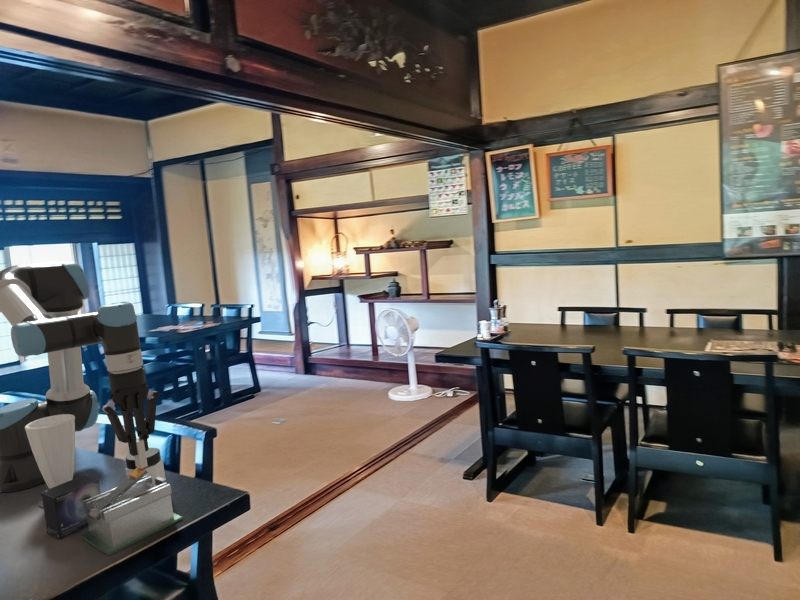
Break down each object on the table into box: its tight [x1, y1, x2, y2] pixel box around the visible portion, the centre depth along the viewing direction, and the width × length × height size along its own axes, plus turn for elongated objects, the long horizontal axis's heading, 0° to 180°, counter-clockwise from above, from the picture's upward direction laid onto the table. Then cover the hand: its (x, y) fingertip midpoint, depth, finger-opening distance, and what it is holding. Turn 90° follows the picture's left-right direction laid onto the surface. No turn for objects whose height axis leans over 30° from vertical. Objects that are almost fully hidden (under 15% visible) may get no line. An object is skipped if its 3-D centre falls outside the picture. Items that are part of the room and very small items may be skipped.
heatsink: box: [80, 475, 183, 556], centre depth 126 cm, size 14×17×9 cm
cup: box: [25, 414, 76, 509], centre depth 145 cm, size 12×12×22 cm
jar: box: [124, 447, 166, 487], centre depth 141 cm, size 9×8×12 cm
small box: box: [40, 474, 101, 540], centre depth 129 cm, size 11×6×10 cm, turn 148°
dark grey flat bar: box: [86, 467, 148, 520], centre depth 123 cm, size 14×4×2 cm, turn 142°
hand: (141, 466), depth 128 cm, fingers closed
